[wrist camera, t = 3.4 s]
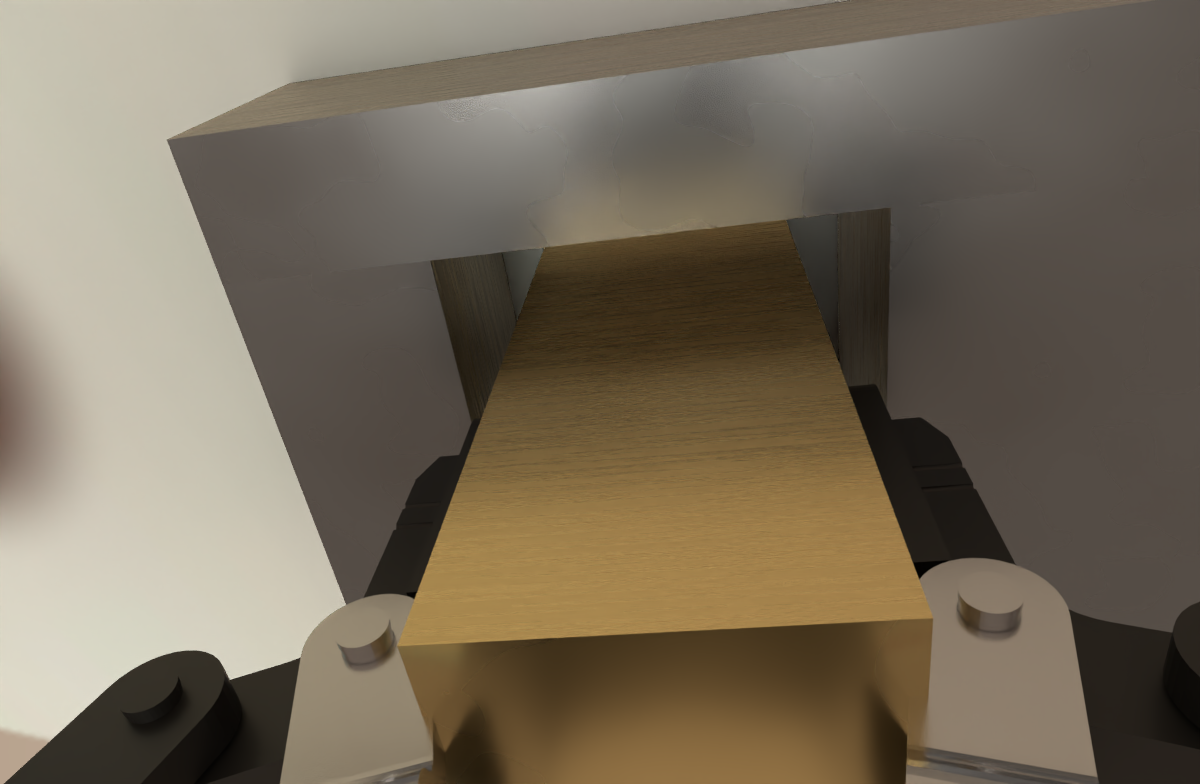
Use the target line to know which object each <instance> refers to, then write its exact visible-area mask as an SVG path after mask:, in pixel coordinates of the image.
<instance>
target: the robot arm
mask: <svg viewBox="0 0 1200 784" xmlns="http://www.w3.org/2000/svg"><path fill="white" fill-rule="evenodd" d="M848 389H849V392H850V394H851V397H852V400H853V403H854V405H855V408H856V411H857V413H858V416H859V419H860V421H861V424H862V427H863V430H864V432H865V435H866V438H867V440H868V443H869V446H870V448H871V451H872V454H873V457H874V459H875V462H876V465H877V467H878V470H879V473H880V475H881V478H882V481H883V484H884V486H885V489H886V492H887V494H888V497H889V500H890V502H891V505H892V508H893V511H894V513H895V516H896V519H897V521H898V524H899V527H900V529H901V532H902V535H903V538H904V540H905V543H906V546H907V548H908V551H909V554H910V556H911V559H912V562H913V565H914V567H915V570H916V573H917V575H918V578H919V581H920V583H921V586H922V589H923V592H924V594H925V597H926V600H927V602H928V605H929V608H930V610H931V613H932V616H933V632H932V648H931V664H930V681H929V696H912V697H909V710H908V733H907V756H906V781H905V784H1200V602H1198V603H1195V604H1193V605H1191V606H1189V607H1188V608H1186V609H1185V610H1184V611H1182V612H1181V614H1180V615H1179V616H1178V618H1177V619H1176V622H1175V624H1174V627H1173V631H1172V632H1166V631H1160V630H1154V629H1148V628H1143V627H1137V626H1131V625H1125V624H1119V623H1113V622H1108V621H1104V620H1099V619H1095V618H1092V617H1088V616H1085V615H1082V614H1079V613H1077V612H1074V611H1072V610H1069V609H1068V606H1067V604H1066V603H1065V601H1064V599H1063V597H1062V596H1061V595H1060V594H1059V592H1058V591H1057V590H1056V589H1055V588H1054V587H1053V586H1052V585H1051V584H1049V583H1048V582H1047V581H1046V580H1044V579H1043V578H1041V577H1040V576H1038V575H1037V574H1035V573H1033V572H1031V571H1029V570H1027V569H1025V568H1022V567H1020V566H1017V565H1016V564H1015V562H1014V560H1013V558H1012V556H1011V554H1010V552H1009V551H1008V549H1007V547H1006V545H1005V543H1004V541H1003V539H1002V537H1001V535H1000V533H999V532H998V530H997V528H996V526H995V524H994V522H993V520H992V518H991V516H990V514H989V513H988V511H987V509H986V507H985V505H984V503H983V501H982V499H981V497H980V495H979V494H978V492H977V490H976V489H974V487H973V482H972V480H971V478H970V476H969V475H968V473H967V471H966V469H965V468H963V466H962V461H961V459H960V457H959V456H958V454H957V452H956V450H955V448H954V446H953V444H952V442H951V440H950V438H949V437H948V436H946V435H945V434H944V433H942V432H941V431H939V430H938V429H937V428H935V427H934V426H932V425H931V424H930V423H928V422H927V421H926V420H924V419H923V418H921V417H916V418H904V419H891V417H890V415H889V412H888V410H887V408H886V406H885V403H884V401H883V399H882V396H881V394H880V392H879V389H878V387H877V386H876V385H875V384H868V385H857V386H848ZM480 421H481V418H479V419H474V420H473V421H472V423H471V425H470V428H469V430H468V433H467V436H466V438H465V441H464V443H463V446H462V449H461V451H460V454H459V455H452V456H440V457H439V458H438V459H437V460H436V461H435V462H434V463H433V464H431V465H430V466H429V467H428V468H427V469H426V470H425V471H424V472H423V473H422V474H421V475H420V476H419V477H418V478H417V479H416V480H415V483H414V485H413V487H412V489H411V492H410V494H409V496H408V498H407V501H406V503H405V509H403V510H402V512H401V514H400V517H399V519H398V521H397V523H396V530H393V532H392V535H391V537H390V539H389V541H388V544H387V546H386V548H385V550H384V553H383V555H382V557H381V559H380V562H379V564H378V566H377V568H376V571H375V573H374V575H373V577H372V580H371V582H370V584H369V586H368V589H367V591H366V593H365V595H364V598H362V599H359V600H356V601H354V602H352V603H349V604H347V605H345V606H343V607H342V608H340V609H338V610H336V611H335V612H333V613H332V614H330V615H329V616H328V617H327V618H325V619H324V620H323V621H322V622H321V623H320V624H319V625H318V626H317V627H316V628H315V629H314V630H313V631H312V633H311V634H310V636H309V637H308V639H307V641H306V643H305V645H304V647H303V650H302V654H301V658H299V659H296V660H293V661H290V662H287V663H284V664H281V665H278V666H275V667H271V668H268V669H265V670H261V671H258V672H255V673H252V674H248V675H245V676H242V677H238V678H235V679H232V680H230V679H229V678H228V676H227V674H226V672H225V670H224V668H223V666H222V664H221V663H220V661H219V660H218V659H217V658H216V657H214V656H213V655H211V654H209V653H206V652H202V651H180V652H174V653H170V654H166V655H163V656H160V657H158V658H155V659H152V660H150V661H148V662H146V663H144V664H142V665H140V666H138V667H136V668H135V669H133V670H131V671H130V672H128V673H127V674H125V675H124V676H122V677H121V678H119V679H118V680H117V681H116V682H115V683H113V684H112V685H111V686H110V687H109V688H108V689H106V690H105V691H104V692H103V693H102V694H101V695H100V696H99V697H98V698H97V699H96V700H95V701H93V702H92V703H91V704H90V705H89V706H88V707H87V708H86V709H85V710H84V711H83V712H81V713H80V714H79V715H78V716H77V717H76V718H75V719H74V720H73V721H72V722H71V723H69V724H68V725H67V726H66V727H65V728H64V729H63V730H62V731H61V732H60V733H59V734H57V735H56V736H55V737H54V738H53V739H52V740H51V741H50V742H49V743H48V744H47V745H46V746H44V748H42V749H41V750H40V751H39V752H38V753H37V754H36V755H35V756H34V757H32V758H31V759H30V760H29V761H28V762H27V763H26V764H25V765H24V766H23V767H22V768H20V770H18V771H17V772H16V773H15V774H14V775H13V776H12V777H11V778H10V779H9V780H7V781H6V782H5V783H4V784H446V764H445V751H444V748H443V745H442V742H441V739H440V736H439V734H438V731H437V728H436V725H435V722H434V719H433V716H424V717H422V714H421V711H420V708H419V706H418V703H417V700H416V697H415V694H414V692H413V689H412V686H411V683H410V680H409V678H408V675H407V672H406V669H405V666H404V664H403V661H402V658H401V655H400V652H399V650H398V647H397V646H398V643H399V640H400V638H401V635H402V632H403V629H404V627H405V624H406V621H407V619H408V616H409V613H410V610H411V608H412V605H413V602H414V600H415V597H416V594H417V592H418V589H419V586H420V583H421V581H422V578H423V575H424V573H425V570H426V567H427V564H428V562H429V559H430V556H431V554H432V551H433V548H434V545H435V543H436V540H437V537H438V535H439V532H440V529H441V527H442V524H443V521H444V518H445V516H446V513H447V510H448V508H449V505H450V502H451V499H452V497H453V494H454V491H455V489H456V486H457V483H458V481H459V478H460V475H461V472H462V470H463V467H464V464H465V462H466V459H467V456H468V453H469V451H470V448H471V445H472V443H473V440H474V437H475V434H476V432H477V429H478V426H479V424H480Z"/></svg>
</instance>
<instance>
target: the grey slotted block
mask: <svg viewBox="0 0 1200 784" xmlns="http://www.w3.org/2000/svg"><path fill="white" fill-rule="evenodd" d="M167 141H168V144H169V146H170V149H171V152H172V154H173V157H174V159H175V162H176V165H177V167H178V170H179V172H180V175H181V178H182V180H183V183H184V185H185V188H186V190H187V193H188V196H189V198H190V201H191V203H192V206H193V209H194V211H195V214H196V216H197V219H198V222H199V224H200V227H201V229H202V232H203V235H204V237H205V240H206V242H207V245H208V248H209V250H210V253H211V255H212V258H213V260H214V263H215V266H216V268H217V271H218V273H219V276H220V279H221V281H222V284H223V286H224V289H225V292H226V294H227V297H228V299H229V302H230V305H231V307H232V310H233V312H234V315H235V317H236V320H237V323H238V325H239V328H240V330H241V333H242V336H243V338H244V341H245V343H246V346H247V349H248V351H249V354H250V356H251V359H252V362H253V364H254V367H255V369H256V372H257V375H258V377H259V380H260V382H261V385H262V387H263V390H264V393H265V395H266V398H267V400H268V403H269V406H270V408H271V411H272V413H273V416H274V419H275V421H276V424H277V426H278V429H279V432H280V434H281V437H282V439H283V442H284V444H285V447H286V450H287V452H288V455H289V457H290V460H291V463H292V465H293V468H294V470H295V473H296V476H297V478H298V481H299V483H300V486H301V489H302V491H303V494H304V496H305V499H306V501H307V504H308V507H309V509H310V512H311V514H312V517H313V520H314V522H315V525H316V527H317V530H318V533H319V535H320V538H321V540H322V543H323V546H324V548H325V551H326V553H327V556H328V559H329V561H330V564H331V566H332V569H333V571H334V574H335V577H336V579H337V582H338V584H339V587H340V590H341V592H342V595H343V597H344V600H345V603H346V605H347V604H349V603H352V602H354V601H356V600H359V599H362V598H364V595H365V593H366V591H367V589H368V586H369V584H370V582H371V580H372V577H373V575H374V573H375V571H376V568H377V566H378V564H379V562H380V559H381V557H382V555H383V553H384V550H385V548H386V546H387V544H388V541H389V539H390V537H391V535H392V532H393V530H396V523H397V521H398V519H399V517H400V514H401V512H402V510H403V509H405V503H406V501H407V498H408V496H409V494H410V492H411V489H412V487H413V485H414V483H415V480H416V479H417V478H418V477H419V476H420V475H421V474H422V473H423V472H424V471H425V470H426V469H427V468H428V467H429V466H430V465H431V464H433V463H434V462H435V461H436V460H437V459H438V458H439V457H440V456H452V455H459V454H460V451H461V449H462V446H463V443H464V441H465V438H466V436H467V433H468V430H469V428H470V425H471V423H472V421H473V420H474V419H479V418H482V416H483V413H484V410H485V407H486V405H487V402H488V399H489V397H490V394H491V391H492V388H493V386H494V383H495V380H496V378H497V375H498V372H499V370H500V367H501V364H502V361H503V359H504V356H505V353H506V351H507V348H508V345H509V342H510V340H511V337H512V334H513V332H514V329H515V326H516V318H515V314H514V309H513V304H512V299H511V295H510V290H509V285H508V281H507V276H506V271H505V266H504V262H503V257H502V252H510V251H518V250H527V249H536V248H544V247H553V246H562V245H570V244H579V243H587V242H596V241H605V240H613V239H622V238H631V237H639V236H648V235H657V234H665V233H674V232H683V231H691V230H700V229H709V228H717V227H726V226H735V225H743V224H752V223H760V222H769V221H778V220H786V219H795V218H804V217H812V216H821V215H830V214H838V304H839V365H840V367H841V370H842V373H843V376H844V378H845V381H846V384H847V386H857V385H868V384H875V385H876V386H877V387H878V389H879V392H880V394H881V396H882V399H883V401H884V403H885V406H886V408H887V410H888V412H889V415H890V417H891V419H904V418H916V417H921V418H923V419H924V420H926V421H927V422H928V423H930V424H931V425H932V426H934V427H935V428H937V429H938V430H939V431H941V432H942V433H944V434H945V435H946V436H948V437H949V438H950V440H951V442H952V444H953V446H954V448H955V450H956V452H957V454H958V456H959V457H960V459H961V461H962V466H963V468H965V469H966V471H967V473H968V475H969V476H970V478H971V480H972V482H973V487H974V489H976V490H977V492H978V494H979V495H980V497H981V499H982V501H983V503H984V505H985V507H986V509H987V511H988V513H989V514H990V516H991V518H992V520H993V522H994V524H995V526H996V528H997V530H998V532H999V533H1000V535H1001V537H1002V539H1003V541H1004V543H1005V545H1006V547H1007V549H1008V551H1009V552H1010V554H1011V556H1012V558H1013V560H1014V562H1015V564H1016V565H1017V566H1020V567H1022V568H1025V569H1027V570H1029V571H1031V572H1033V573H1035V574H1037V575H1038V576H1040V577H1041V578H1043V579H1044V580H1046V581H1047V582H1048V583H1049V584H1051V585H1052V586H1053V587H1054V588H1055V589H1056V590H1057V591H1058V592H1059V594H1060V595H1061V596H1062V597H1063V599H1064V601H1065V603H1066V604H1067V606H1068V609H1069V610H1072V611H1074V612H1077V613H1079V614H1082V615H1085V616H1088V617H1092V618H1095V619H1099V620H1104V621H1108V622H1113V623H1119V624H1125V625H1131V626H1137V627H1143V628H1148V629H1154V630H1160V631H1166V632H1172V631H1173V627H1174V624H1175V622H1176V619H1177V618H1178V616H1179V615H1180V614H1181V612H1182V611H1184V610H1185V609H1186V608H1188V607H1189V606H1191V605H1193V604H1195V603H1198V602H1200V0H851V1H844V2H837V3H830V4H823V5H817V6H810V7H803V8H796V9H790V10H783V11H776V12H769V13H763V14H756V15H749V16H742V17H736V18H729V19H722V20H715V21H708V22H702V23H695V24H688V25H681V26H675V27H668V28H661V29H654V30H648V31H641V32H634V33H627V34H621V35H614V36H607V37H600V38H593V39H587V40H580V41H573V42H566V43H560V44H553V45H546V46H539V47H533V48H526V49H519V50H512V51H505V52H499V53H492V54H485V55H478V56H472V57H465V58H458V59H451V60H445V61H438V62H431V63H424V64H418V65H411V66H404V67H397V68H390V69H384V70H377V71H370V72H363V73H357V74H350V75H343V76H336V77H330V78H323V79H316V80H309V81H303V82H296V83H289V84H287V85H284V86H282V87H280V88H278V89H276V90H274V91H271V92H269V93H267V94H265V95H263V96H261V97H258V98H256V99H254V100H252V101H250V102H248V103H245V104H243V105H241V106H239V107H237V108H235V109H232V110H230V111H228V112H226V113H224V114H222V115H219V116H217V117H215V118H213V119H211V120H209V121H206V122H204V123H202V124H200V125H198V126H196V127H193V128H191V129H189V130H187V131H185V132H183V133H180V134H178V135H176V136H174V137H172V138H170V139H167Z"/></svg>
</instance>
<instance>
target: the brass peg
mask: <svg viewBox="0 0 1200 784" xmlns="http://www.w3.org/2000/svg"><path fill="white" fill-rule="evenodd" d="M932 632H933V616H932V613H931V610H930V608H929V605H928V602H927V600H926V597H925V594H924V592H923V589H922V586H921V583H920V581H919V578H918V575H917V573H916V570H915V567H914V565H913V562H912V559H911V556H910V554H909V551H908V548H907V546H906V543H905V540H904V538H903V535H902V532H901V529H900V527H899V524H898V521H897V519H896V516H895V513H894V511H893V508H892V505H891V502H890V500H889V497H888V494H887V492H886V489H885V486H884V484H883V481H882V478H881V475H880V473H879V470H878V467H877V465H876V462H875V459H874V457H873V454H872V451H871V448H870V446H869V443H868V440H867V438H866V435H865V432H864V430H863V427H862V424H861V421H860V419H859V416H858V413H857V411H856V408H855V405H854V403H853V400H852V397H851V394H850V392H849V389H848V386H847V384H846V381H845V378H844V376H843V373H842V370H841V367H840V365H839V362H838V359H837V357H836V354H835V351H834V349H833V346H832V343H831V340H830V338H829V335H828V332H827V330H826V327H825V324H824V322H823V319H822V316H821V313H820V311H819V308H818V305H817V303H816V300H815V297H814V295H813V292H812V289H811V286H810V284H809V281H808V278H807V276H806V273H805V270H804V268H803V265H802V262H801V259H800V257H799V254H798V251H797V249H796V246H795V243H794V241H793V238H792V235H791V232H790V230H789V227H788V224H787V222H786V220H778V221H769V222H760V223H752V224H743V225H735V226H726V227H717V228H709V229H700V230H691V231H683V232H674V233H665V234H657V235H648V236H639V237H631V238H622V239H613V240H605V241H596V242H587V243H579V244H570V245H562V246H553V247H545V248H544V250H543V253H542V256H541V259H540V261H539V264H538V267H537V269H536V272H535V275H534V277H533V280H532V283H531V286H530V288H529V291H528V294H527V296H526V299H525V302H524V305H523V307H522V310H521V313H520V315H519V318H518V321H517V323H516V326H515V329H514V332H513V334H512V337H511V340H510V342H509V345H508V348H507V351H506V353H505V356H504V359H503V361H502V364H501V367H500V370H499V372H498V375H497V378H496V380H495V383H494V386H493V388H492V391H491V394H490V397H489V399H488V402H487V405H486V407H485V410H484V413H483V416H482V418H481V421H480V424H479V426H478V429H477V432H476V434H475V437H474V440H473V443H472V445H471V448H470V451H469V453H468V456H467V459H466V462H465V464H464V467H463V470H462V472H461V475H460V478H459V481H458V483H457V486H456V489H455V491H454V494H453V497H452V499H451V502H450V505H449V508H448V510H447V513H446V516H445V518H444V521H443V524H442V527H441V529H440V532H439V535H438V537H437V540H436V543H435V545H434V548H433V551H432V554H431V556H430V559H429V562H428V564H427V567H426V570H425V573H424V575H423V578H422V581H421V583H420V586H419V589H418V592H417V594H416V597H415V600H414V602H413V605H412V608H411V610H410V613H409V616H408V619H407V621H406V624H405V627H404V629H403V632H402V635H401V638H400V640H399V643H398V646H397V647H398V650H399V652H400V655H401V658H402V661H403V664H404V666H405V669H406V672H407V675H408V678H409V680H410V683H411V686H412V689H413V692H414V694H415V697H416V700H417V703H418V706H419V708H420V711H421V714H422V717H424V716H433V719H434V722H435V725H436V728H437V731H438V734H439V736H440V739H441V742H442V745H443V748H444V751H445V764H446V784H905V781H906V756H907V733H908V710H909V697H912V696H929V681H930V664H931V648H932Z"/></svg>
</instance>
